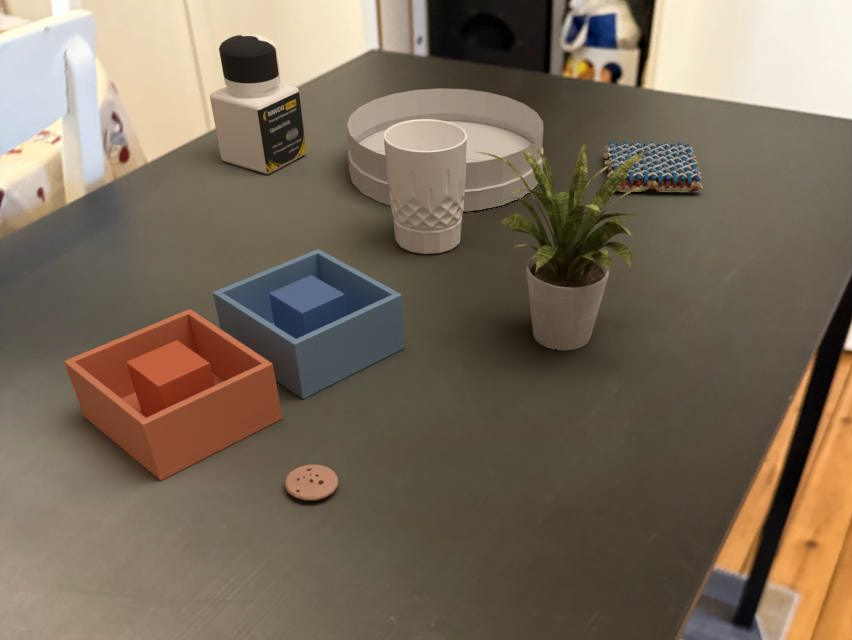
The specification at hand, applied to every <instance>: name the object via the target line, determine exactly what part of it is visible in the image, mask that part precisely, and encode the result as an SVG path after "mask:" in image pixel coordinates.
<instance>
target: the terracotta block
mask: <svg viewBox="0 0 852 640" xmlns="http://www.w3.org/2000/svg"><path fill="white" fill-rule="evenodd" d="M126 364H127V367H128V370H129V373H130V376H131V379H132V383H133V386H134V389H135V392H136V395H137V399H138V402H139V405H140V408H141V411H142V413H144V414H145V415H146V416H147V417H149V416H151V415H153V414H155V413H158V412H160V411H162V410H164V409H166V408H168V407H170V406H173V405H175V404H177V403H179V402H181V401H183V400H185V399H187V398H190V397H192V396H194V395H196V394H198V393H200V392H202V391H205V390H207V389H209V388H211V387H213V386H215V383H214V379H213V375H212V371H211V367H210V363H209V362H208V361H206V360H205V359H203V358H202V357H200V356H199V355H198V354H196V353H195V352H193V351H192V350H190V349H189V348H188V347H186V346H185V345H183V344H182V343H180V342H179V341H178V340H176V341H174V342H171V343H169V344H167V345H164V346H162V347H160V348H157V349H155V350H153V351H151V352H148V353H146V354H144V355H141V356H139V357H137V358H134V359H132V360H130V361H127V362H126Z"/></svg>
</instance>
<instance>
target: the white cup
mask: <svg viewBox="0 0 852 640" xmlns="http://www.w3.org/2000/svg"><path fill="white" fill-rule="evenodd" d="M383 137H384V146H385V156H386V166H387V176H388V186H389V193H390V202H391V206H390V209H391V213H392V217H393V218H392V220H393V230H394V231H393V232H394V240H395V242H396V243H397V244H398V246H399V247H400V248H401V249H403V250H406V251H407V252H410V253H415V254H422V255H435V254H437V255H438V254H442V253H445V252H449V251H452V250H454V249H455V248H456V247H457V246H459V244H460V243H461V240H462V233H463V232H462V231H463V230H462V228H463V215H464V213H463V211H464V195H465V179H466V153H467V133H466V131H465V130H464V129H463V128H462V127H460V126H458V125H456V124H453V123H450V122H447V121H441V120H433V119H418V120H409V121H404V122H401V123H397V124H395V125H393V126H391V127H389V128H388V129H387V130H386V131H385V132H384V135H383Z"/></svg>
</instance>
